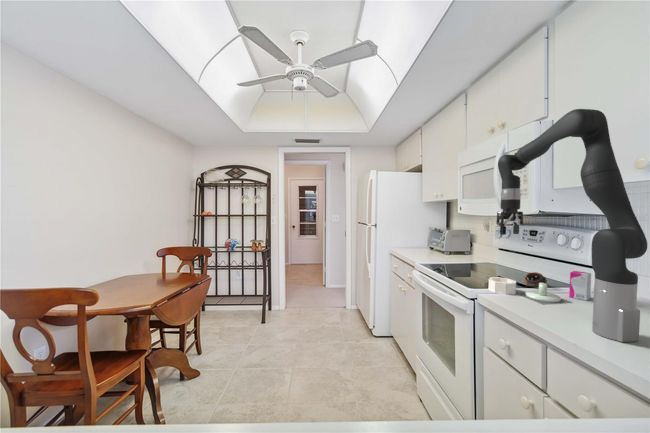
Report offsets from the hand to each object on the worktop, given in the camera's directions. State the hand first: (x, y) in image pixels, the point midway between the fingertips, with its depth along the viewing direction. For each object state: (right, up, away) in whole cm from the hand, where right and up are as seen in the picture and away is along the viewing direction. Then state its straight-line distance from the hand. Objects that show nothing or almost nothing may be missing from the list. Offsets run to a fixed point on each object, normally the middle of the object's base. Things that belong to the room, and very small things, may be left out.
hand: (509, 234), depth 128 cm
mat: (+9, -27, -8) cm, 30 cm away
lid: (+9, -27, -8) cm, 29 cm away
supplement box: (+25, -28, -8) cm, 38 cm away
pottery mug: (+19, -27, +9) cm, 34 cm away
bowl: (-3, -27, +1) cm, 27 cm away
